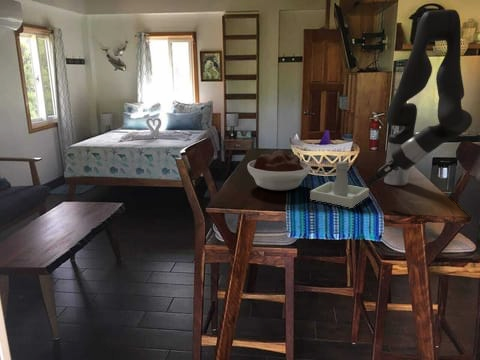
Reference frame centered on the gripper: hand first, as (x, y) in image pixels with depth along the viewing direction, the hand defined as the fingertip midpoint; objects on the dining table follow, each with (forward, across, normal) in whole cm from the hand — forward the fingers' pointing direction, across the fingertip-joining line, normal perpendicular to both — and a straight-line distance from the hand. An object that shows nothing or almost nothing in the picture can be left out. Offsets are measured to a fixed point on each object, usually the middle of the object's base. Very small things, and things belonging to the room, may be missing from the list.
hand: (372, 181), depth 140 cm
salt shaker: (+14, 0, -2) cm, 14 cm away
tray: (+14, 0, -2) cm, 14 cm away
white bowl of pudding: (+33, +1, -20) cm, 39 cm away
